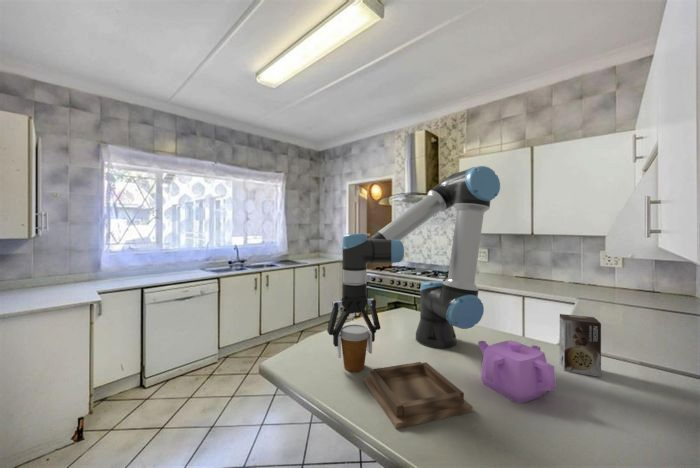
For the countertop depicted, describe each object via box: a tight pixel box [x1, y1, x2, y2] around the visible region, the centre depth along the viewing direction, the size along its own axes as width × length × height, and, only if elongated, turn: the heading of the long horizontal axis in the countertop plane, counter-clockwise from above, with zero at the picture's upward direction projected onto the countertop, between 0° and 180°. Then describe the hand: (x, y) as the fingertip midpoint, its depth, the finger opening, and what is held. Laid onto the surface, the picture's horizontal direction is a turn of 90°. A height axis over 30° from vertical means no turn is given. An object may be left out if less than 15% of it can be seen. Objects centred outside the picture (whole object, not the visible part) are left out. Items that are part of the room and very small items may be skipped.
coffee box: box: [558, 313, 602, 378], centre depth 88 cm, size 9×6×16 cm
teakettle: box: [477, 340, 557, 404], centre depth 78 cm, size 17×17×12 cm
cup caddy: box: [363, 361, 473, 430], centre depth 74 cm, size 20×20×4 cm
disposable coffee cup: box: [339, 323, 370, 373], centre depth 89 cm, size 10×10×12 cm
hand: (354, 353), depth 89 cm, fingers closed on disposable coffee cup, 9 cm apart
